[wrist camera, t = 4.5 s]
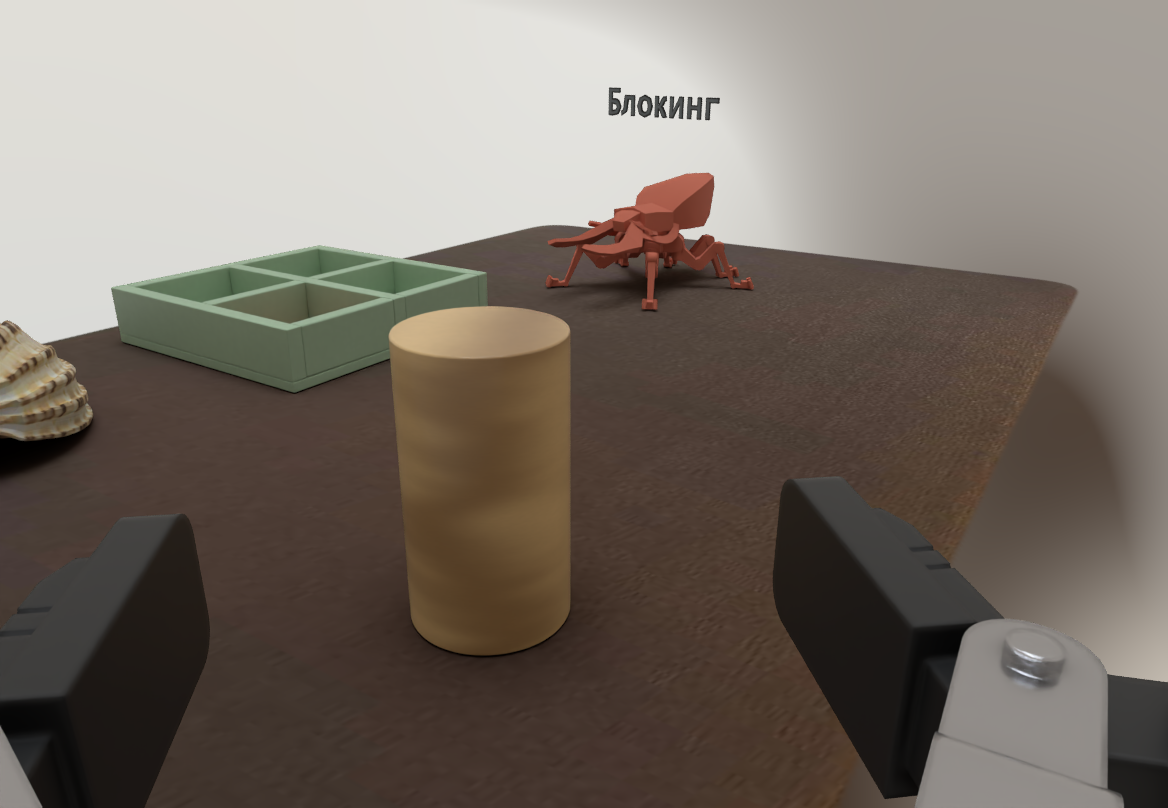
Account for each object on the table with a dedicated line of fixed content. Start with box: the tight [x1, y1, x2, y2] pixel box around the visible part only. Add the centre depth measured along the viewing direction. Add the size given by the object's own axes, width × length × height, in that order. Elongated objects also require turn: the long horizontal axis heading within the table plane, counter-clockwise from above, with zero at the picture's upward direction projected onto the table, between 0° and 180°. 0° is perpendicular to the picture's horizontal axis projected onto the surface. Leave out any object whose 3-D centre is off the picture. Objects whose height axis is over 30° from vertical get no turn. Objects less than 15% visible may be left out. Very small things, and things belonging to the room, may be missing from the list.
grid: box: [111, 245, 488, 393], centre depth 48 cm, size 14×14×3 cm
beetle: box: [545, 88, 754, 310], centre depth 57 cm, size 15×12×13 cm
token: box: [388, 306, 570, 656], centre depth 23 cm, size 4×4×8 cm
